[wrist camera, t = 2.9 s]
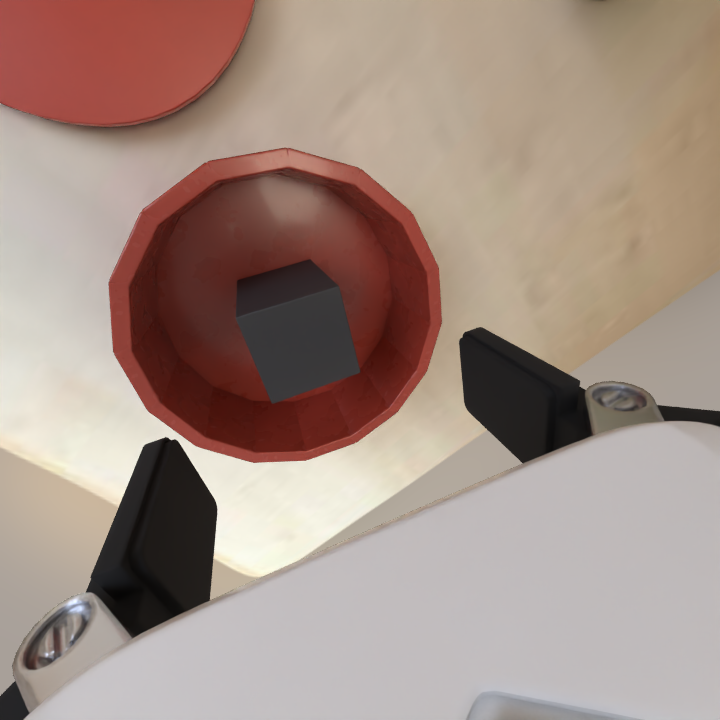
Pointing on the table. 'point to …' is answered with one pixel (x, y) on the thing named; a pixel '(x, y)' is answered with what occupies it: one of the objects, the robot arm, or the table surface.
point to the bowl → (258, 255)
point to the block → (295, 329)
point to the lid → (114, 56)
